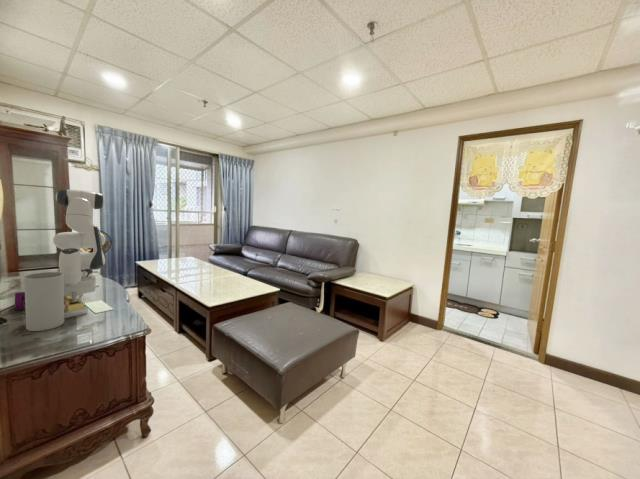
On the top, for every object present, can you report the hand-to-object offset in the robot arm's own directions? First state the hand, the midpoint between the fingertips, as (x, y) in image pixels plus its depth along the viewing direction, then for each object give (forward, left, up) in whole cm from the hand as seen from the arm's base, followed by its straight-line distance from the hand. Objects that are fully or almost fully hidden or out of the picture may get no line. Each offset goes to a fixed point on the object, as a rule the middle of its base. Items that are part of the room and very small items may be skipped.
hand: (71, 303), depth 140 cm
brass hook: (+1, 0, -1) cm, 2 cm away
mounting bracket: (-24, -12, -5) cm, 27 cm away
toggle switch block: (+1, 0, -4) cm, 4 cm away
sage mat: (+3, +11, -4) cm, 12 cm away
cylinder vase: (+15, -12, -4) cm, 20 cm away
